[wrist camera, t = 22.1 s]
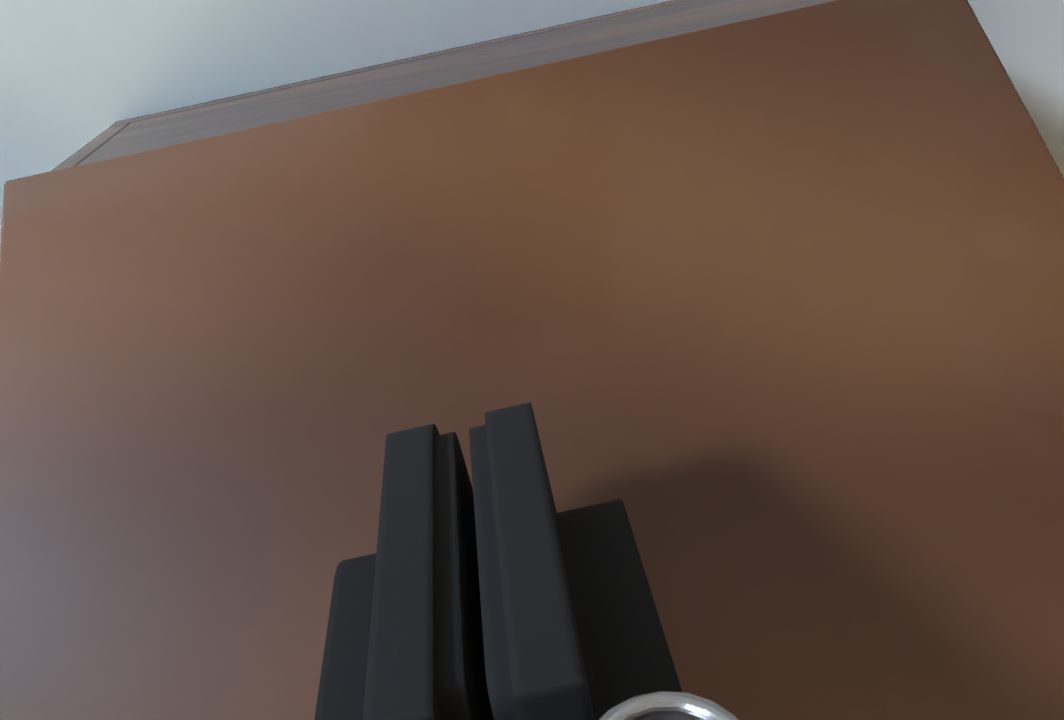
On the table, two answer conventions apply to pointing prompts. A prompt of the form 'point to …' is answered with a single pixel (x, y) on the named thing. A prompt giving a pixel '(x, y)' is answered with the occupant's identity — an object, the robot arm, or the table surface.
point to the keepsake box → (420, 74)
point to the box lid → (562, 369)
